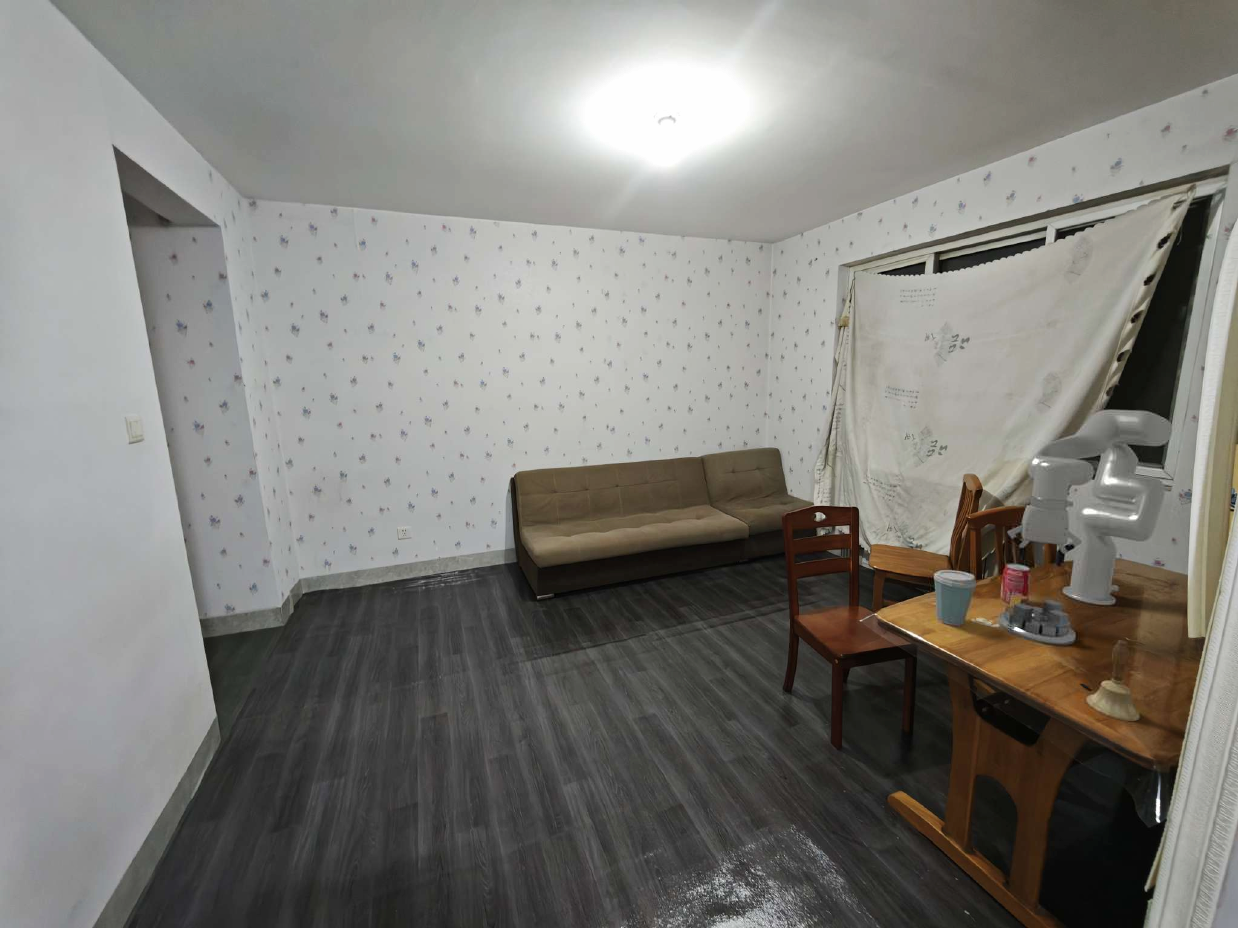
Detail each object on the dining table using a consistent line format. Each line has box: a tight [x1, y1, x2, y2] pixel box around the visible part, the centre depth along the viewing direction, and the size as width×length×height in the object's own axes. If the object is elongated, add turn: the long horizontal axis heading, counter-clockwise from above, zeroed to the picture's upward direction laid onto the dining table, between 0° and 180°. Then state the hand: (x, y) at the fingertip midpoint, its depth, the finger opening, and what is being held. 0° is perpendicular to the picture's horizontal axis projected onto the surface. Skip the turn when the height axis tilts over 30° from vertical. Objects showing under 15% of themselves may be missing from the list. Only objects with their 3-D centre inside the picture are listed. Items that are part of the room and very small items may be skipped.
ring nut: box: [1004, 594, 1071, 637], centre depth 139 cm, size 14×14×6 cm
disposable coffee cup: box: [933, 569, 977, 627], centre depth 145 cm, size 11×11×15 cm
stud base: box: [997, 610, 1077, 646], centre depth 140 cm, size 17×17×5 cm
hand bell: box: [1085, 639, 1141, 722], centre depth 105 cm, size 8×8×16 cm
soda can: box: [1000, 563, 1032, 604], centre depth 157 cm, size 7×7×12 cm
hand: (1039, 561), depth 142 cm, fingers open, 7 cm apart
